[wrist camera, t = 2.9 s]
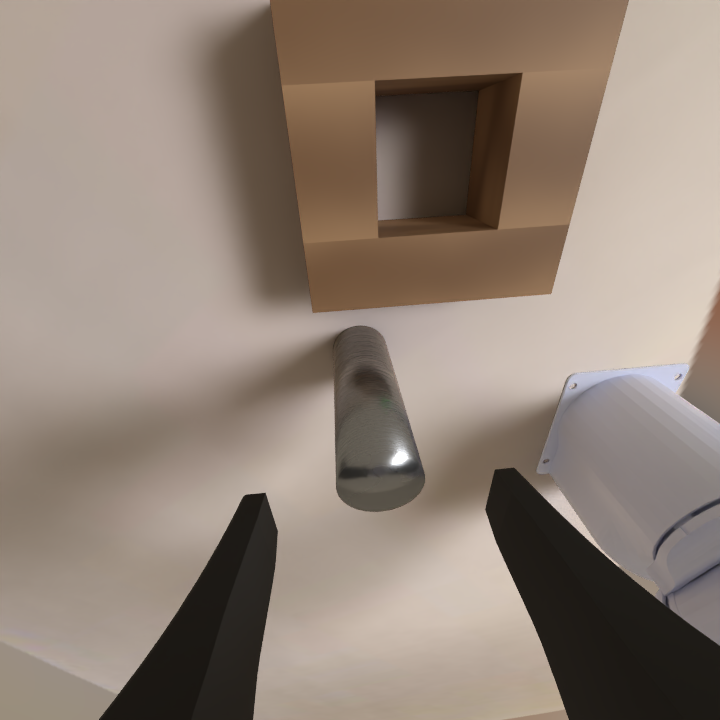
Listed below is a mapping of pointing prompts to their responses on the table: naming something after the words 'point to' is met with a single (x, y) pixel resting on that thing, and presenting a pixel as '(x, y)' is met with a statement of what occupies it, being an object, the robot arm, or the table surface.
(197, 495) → the table surface
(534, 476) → the table surface
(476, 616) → the table surface
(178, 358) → the table surface
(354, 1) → the square wooden ring
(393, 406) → the metal peg
